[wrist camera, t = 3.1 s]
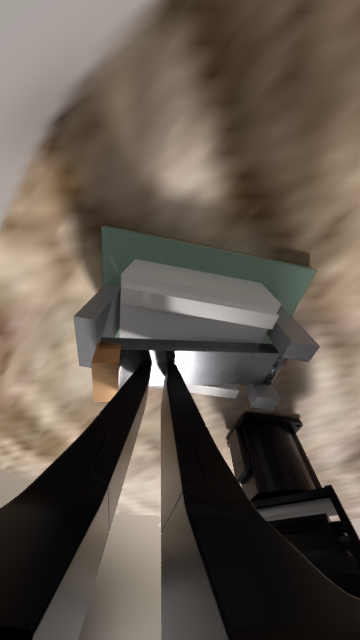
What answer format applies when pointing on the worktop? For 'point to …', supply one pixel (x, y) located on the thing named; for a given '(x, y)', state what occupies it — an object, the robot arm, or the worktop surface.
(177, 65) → the worktop surface
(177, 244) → the heatsink board
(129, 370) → the grey and brown bar
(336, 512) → the robot arm
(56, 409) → the worktop surface
